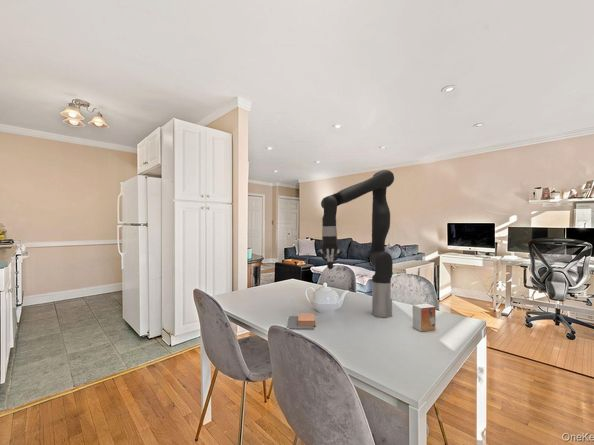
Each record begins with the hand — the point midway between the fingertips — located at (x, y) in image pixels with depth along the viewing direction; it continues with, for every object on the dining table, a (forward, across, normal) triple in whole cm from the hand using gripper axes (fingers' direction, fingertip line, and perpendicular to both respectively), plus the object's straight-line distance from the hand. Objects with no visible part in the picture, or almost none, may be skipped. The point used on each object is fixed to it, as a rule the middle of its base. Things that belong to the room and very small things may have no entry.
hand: (330, 269), depth 136 cm
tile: (+23, +9, +8) cm, 26 cm away
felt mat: (+24, +16, +8) cm, 30 cm away
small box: (+25, -40, +15) cm, 50 cm away
